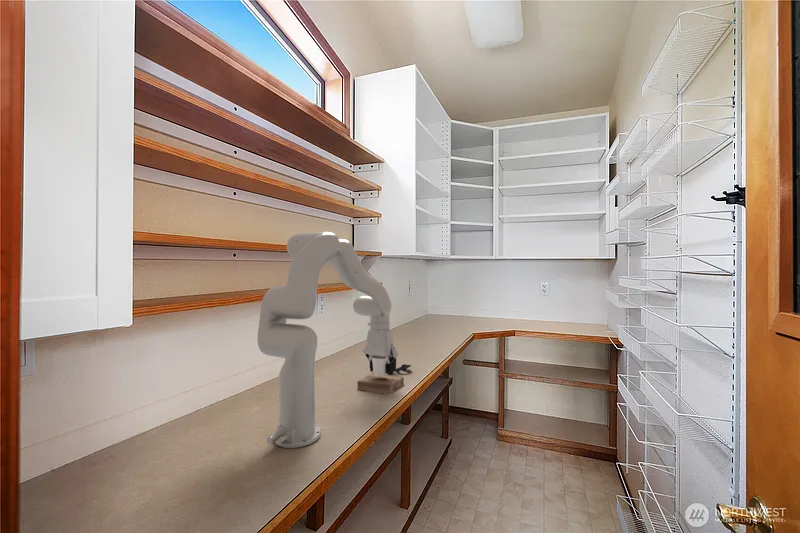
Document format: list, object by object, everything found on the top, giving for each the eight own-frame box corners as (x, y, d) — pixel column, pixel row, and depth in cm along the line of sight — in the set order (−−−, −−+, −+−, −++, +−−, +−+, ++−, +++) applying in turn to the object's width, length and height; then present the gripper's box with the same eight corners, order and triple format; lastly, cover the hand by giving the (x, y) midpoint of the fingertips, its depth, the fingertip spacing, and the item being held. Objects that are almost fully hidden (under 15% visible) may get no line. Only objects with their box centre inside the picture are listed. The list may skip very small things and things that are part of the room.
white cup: (388, 376, 139) (388, 358, 139) (371, 376, 140) (370, 358, 139) (389, 371, 146) (389, 354, 146) (372, 371, 146) (372, 354, 146)
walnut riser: (389, 394, 134) (389, 386, 134) (357, 389, 141) (357, 381, 141) (403, 384, 145) (403, 377, 145) (373, 380, 151) (373, 372, 151)
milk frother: (367, 374, 160) (367, 340, 160) (390, 365, 172) (390, 334, 172) (393, 380, 151) (392, 344, 151) (415, 370, 164) (414, 338, 163)
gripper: (356, 326, 143) (356, 371, 143) (395, 329, 135) (396, 377, 136) (366, 323, 150) (366, 366, 150) (404, 325, 142) (404, 371, 142)
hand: (380, 371), depth 143 cm, fingers closed on white cup, 6 cm apart
